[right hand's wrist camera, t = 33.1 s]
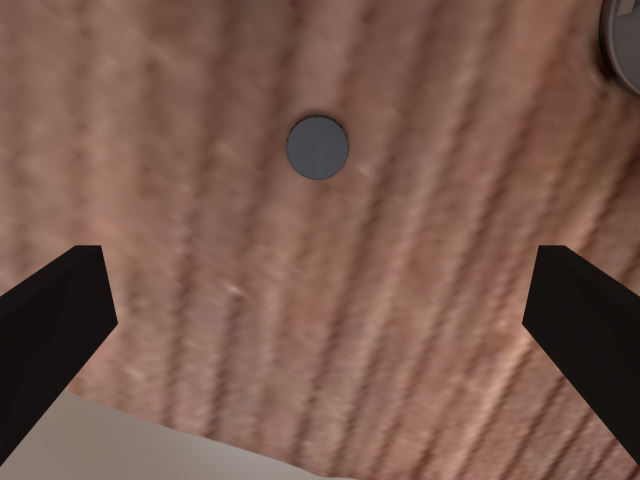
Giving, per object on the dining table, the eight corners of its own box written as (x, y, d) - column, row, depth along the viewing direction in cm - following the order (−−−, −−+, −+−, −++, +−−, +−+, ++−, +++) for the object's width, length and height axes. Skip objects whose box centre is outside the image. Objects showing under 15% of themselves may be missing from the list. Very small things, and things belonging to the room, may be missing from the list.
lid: (289, 111, 37) (288, 112, 35) (351, 117, 37) (353, 119, 35) (285, 172, 39) (283, 177, 37) (343, 178, 39) (344, 183, 38)
